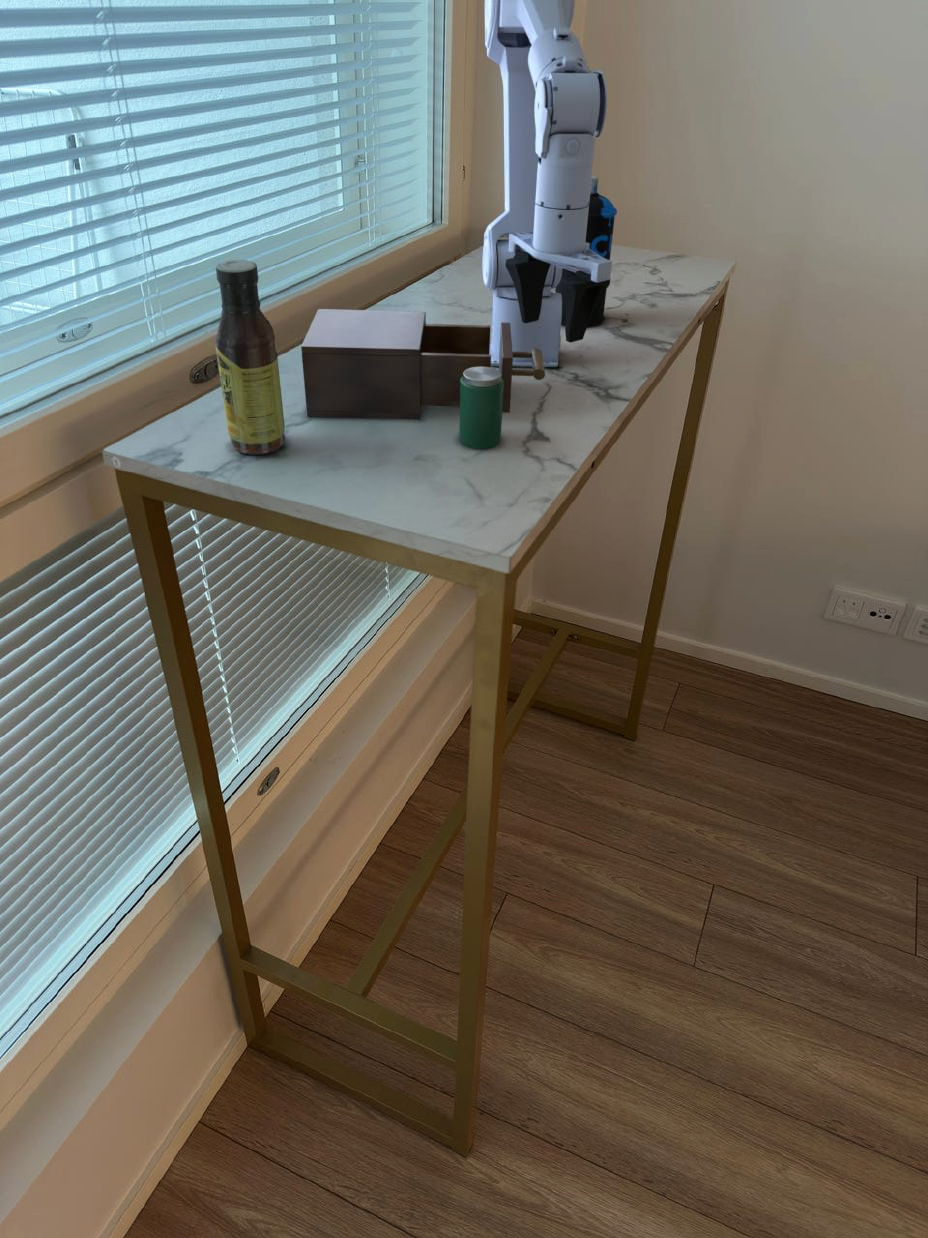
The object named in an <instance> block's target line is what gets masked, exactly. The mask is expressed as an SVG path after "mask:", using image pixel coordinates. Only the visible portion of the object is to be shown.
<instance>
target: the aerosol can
mask: <svg viewBox="0 0 928 1238" xmlns="http://www.w3.org/2000/svg"><path fill="white" fill-rule="evenodd" d="M598 185H599V176H595V175H592V180H591V190H590V200H589V210H588V220H587V230H586V241H585V242H587V243H589V244H590V246H589V249H590V250H592V251H593V252H595V253H596V254H598V255H599V256H601V257H603V258H605V259H607V260H610V261H611V253H612V243H613V236H614V225H615V219H616V218H615V217H616V215H617V213H618V210H617V208H616V207H615V206H614V204H613V203H612V201H611V200H610V199H608V198H607V197H605V196H604V195H601V194H600V193H598ZM573 276H575V277H576V273H575V272H573V271H570V270H567V269H564V268H562V276H561V279H564V278H568V277H573ZM607 289H608V288H607ZM607 289H606V290H605V292H604V293H603V295H602V296H601V298H600V300H599V301H598V303H597V305H596V307H595V309H594V311H593V313H592V315H591V318H590V320H589V323H588V326H587V328H593V327H597V326H600V325H602V324H604V322H605V321H606V318H605V317H606V316H605V309H606V308H605V307H606V300H607V299H606V298H607ZM554 293H561V295H562V318H561V326H565V325H566V305H565V297H564V292H563V289H562V285H561V280H560V282H559V284H558V285H557V286H556V288H555V289H554Z"/></svg>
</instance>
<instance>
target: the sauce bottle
mask: <svg viewBox="0 0 928 1238" xmlns="http://www.w3.org/2000/svg"><path fill="white" fill-rule="evenodd" d="M215 273H216V280H217V282H218V284H219V291H220V296H221V315H220V319H219V324H218V329H217V333H216V337H215V341H214V347H215V352H216V358H217V366H218V367H217V368H218V373H219V380H220V387H221V394H222V400H223V408H224V415H225V421H226V422H225V423H226V428H227V434H228V436H229V439H230V443H231V445H232V447H233V448H234V449H235V450H236V451H237V452H238V453H240V454H246V455H252V456H253V455H266V454H271V453H274V452H277V451H278V450H279V449H280V448H281V447H282V446H283V445H284V443H285V441H286V436H285V428H286V427H285V417H284V406H283V404H284V403H283V397H282V396H283V395H282V386H281V377H280V367H279V358H278V353H277V351H276V341H275V340H276V336H275V333H274V328H273V326H272V324H271V322H270V321H269V320H268V318H267V317H266V316H265V315H264V313H263V311H262V310H261V309H260V308H261V301H260V298H259V287H258V283H259V271H258V266H257V263H256V262H255V261H251V260H248V259H228V260H224V261H222V262H220V263H217V264H216V265H215Z"/></svg>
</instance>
